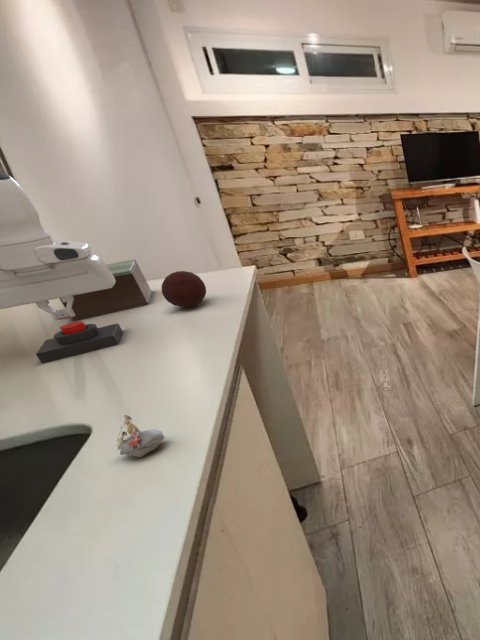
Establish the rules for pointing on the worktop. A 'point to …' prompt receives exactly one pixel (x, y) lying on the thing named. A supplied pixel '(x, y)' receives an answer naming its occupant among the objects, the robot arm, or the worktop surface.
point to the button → (73, 327)
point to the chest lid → (122, 267)
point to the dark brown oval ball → (183, 289)
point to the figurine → (138, 440)
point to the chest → (113, 296)
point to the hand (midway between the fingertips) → (65, 318)
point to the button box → (79, 342)
